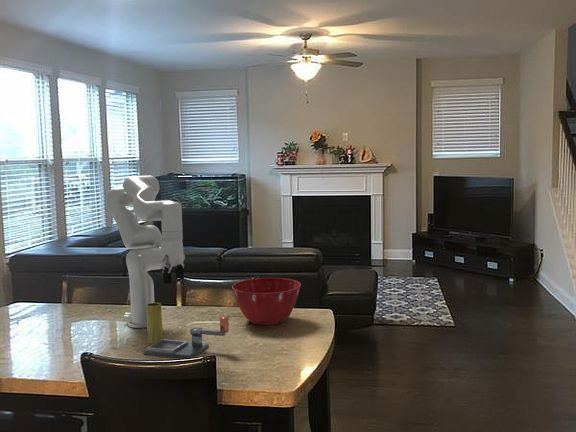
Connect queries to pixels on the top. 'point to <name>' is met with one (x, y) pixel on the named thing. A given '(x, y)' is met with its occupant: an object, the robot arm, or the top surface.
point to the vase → (154, 323)
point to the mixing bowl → (266, 299)
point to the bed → (177, 348)
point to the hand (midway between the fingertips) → (173, 280)
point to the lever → (222, 332)
